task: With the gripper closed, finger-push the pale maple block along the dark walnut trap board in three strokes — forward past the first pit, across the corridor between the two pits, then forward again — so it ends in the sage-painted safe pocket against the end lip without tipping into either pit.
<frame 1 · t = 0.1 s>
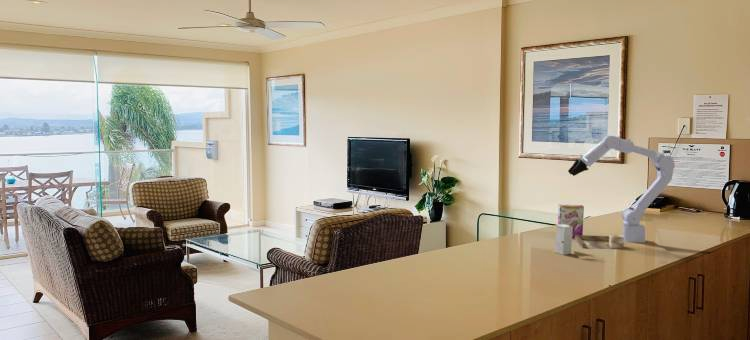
hand: (570, 173, 275), 32 cm above the kitchen counter, tool tilted 50°, fingers open, 7 cm apart
block: (616, 246, 259), point 1 cm above the kitchen counter, touching trap board
skincare box: (563, 253, 252), on the kitchen counter
candy bar box: (569, 238, 285), on the kitchen counter
trap board: (599, 246, 265), on the kitchen counter
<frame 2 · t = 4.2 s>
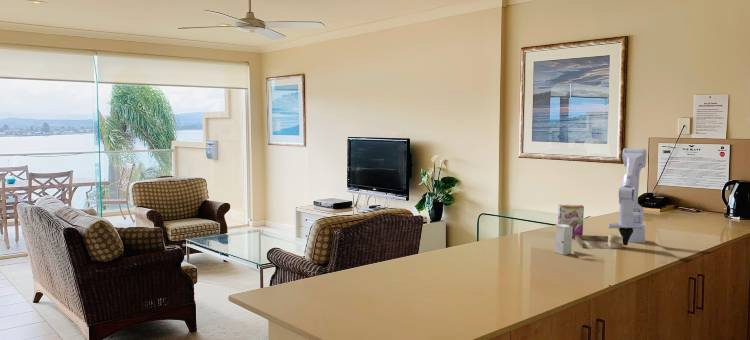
hand: (625, 245, 259), 2 cm above the kitchen counter, tool pointing down, fingers closed
block: (615, 246, 259), point 1 cm above the kitchen counter, touching gripper, trap board
everything else where it was.
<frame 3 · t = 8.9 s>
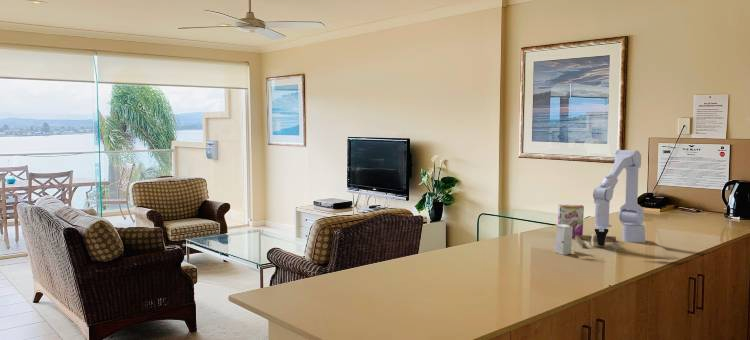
hand: (600, 245, 257), 2 cm above the kitchen counter, tool pointing down, fingers closed
block: (598, 245, 261), point 1 cm above the kitchen counter, touching gripper
everything else where it was.
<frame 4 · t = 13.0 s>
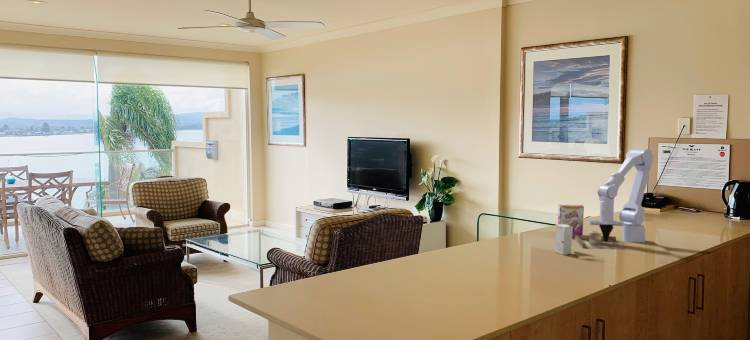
hand: (605, 241, 267), 2 cm above the kitchen counter, tool pointing down, fingers closed
block: (595, 243, 268), point 1 cm above the kitchen counter, touching gripper, trap board
everything else where it was.
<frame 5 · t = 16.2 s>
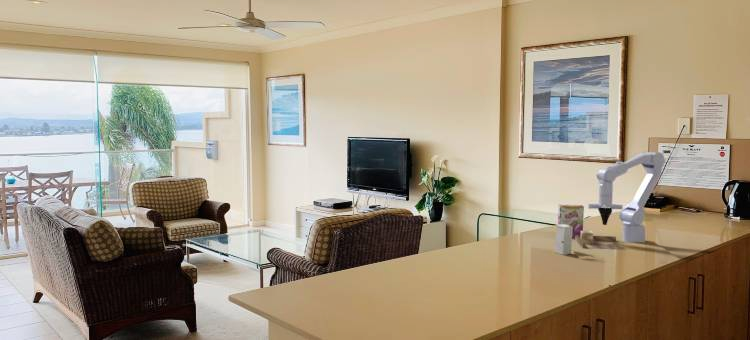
hand: (604, 224, 269), 9 cm above the kitchen counter, tool pointing down, fingers closed
block: (586, 242, 268), point 1 cm above the kitchen counter, touching trap board
everything else where it was.
at the end: block inside the target area (0.4 cm from its centre), point 1.2 cm above the kitchen counter; block tilted 0° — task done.
